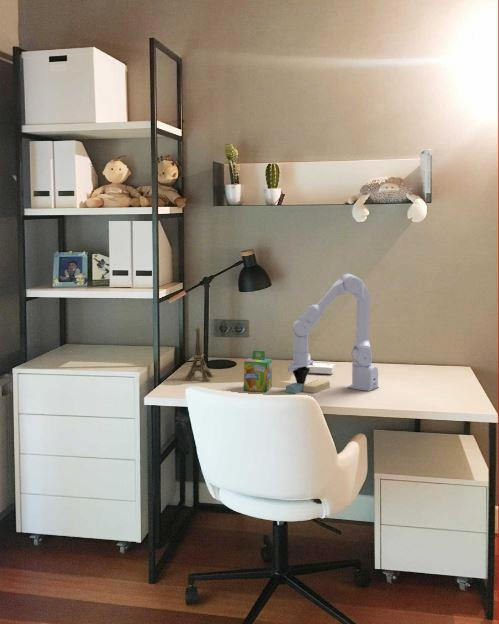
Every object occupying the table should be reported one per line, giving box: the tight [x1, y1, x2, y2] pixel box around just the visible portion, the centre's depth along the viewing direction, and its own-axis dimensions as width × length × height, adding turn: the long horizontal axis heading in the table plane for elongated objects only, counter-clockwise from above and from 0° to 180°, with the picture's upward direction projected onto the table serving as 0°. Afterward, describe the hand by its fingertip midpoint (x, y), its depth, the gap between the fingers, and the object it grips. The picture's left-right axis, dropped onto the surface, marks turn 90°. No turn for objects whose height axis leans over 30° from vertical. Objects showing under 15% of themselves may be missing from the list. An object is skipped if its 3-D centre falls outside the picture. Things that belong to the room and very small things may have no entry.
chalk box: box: [243, 350, 273, 393], centre depth 294 cm, size 9×9×15 cm
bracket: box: [306, 352, 336, 375], centre depth 322 cm, size 13×7×8 cm, turn 74°
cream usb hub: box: [302, 379, 331, 394], centre depth 294 cm, size 5×11×2 cm, turn 143°
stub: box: [285, 382, 305, 394], centre depth 291 cm, size 4×6×2 cm, turn 143°
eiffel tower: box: [182, 325, 215, 383], centre depth 312 cm, size 11×11×25 cm
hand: (300, 386), depth 294 cm, fingers closed
